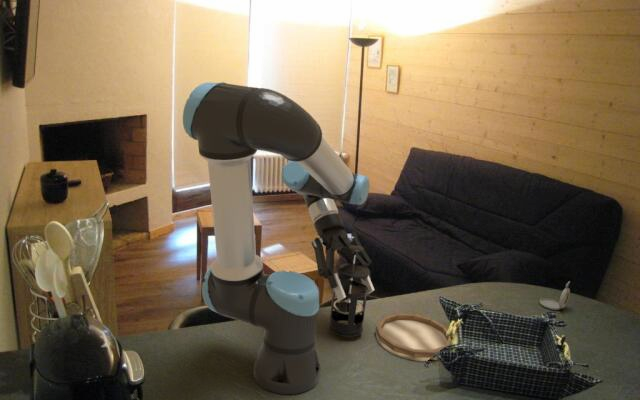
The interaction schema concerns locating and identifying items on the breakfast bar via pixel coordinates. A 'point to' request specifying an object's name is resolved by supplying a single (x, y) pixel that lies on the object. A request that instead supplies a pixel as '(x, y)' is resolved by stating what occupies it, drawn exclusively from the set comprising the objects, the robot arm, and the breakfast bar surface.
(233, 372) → the breakfast bar surface
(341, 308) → the french press
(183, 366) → the breakfast bar surface
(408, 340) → the ring trivet
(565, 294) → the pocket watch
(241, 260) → the robot arm
